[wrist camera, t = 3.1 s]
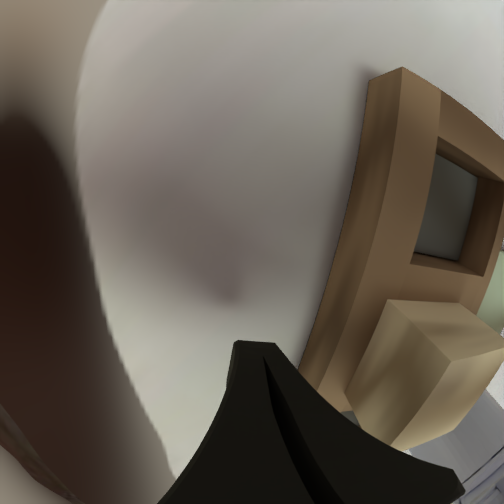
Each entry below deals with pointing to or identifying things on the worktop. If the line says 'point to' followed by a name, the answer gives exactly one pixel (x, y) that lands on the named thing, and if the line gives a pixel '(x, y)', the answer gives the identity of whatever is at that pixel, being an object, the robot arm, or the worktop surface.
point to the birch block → (422, 371)
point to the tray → (411, 225)
